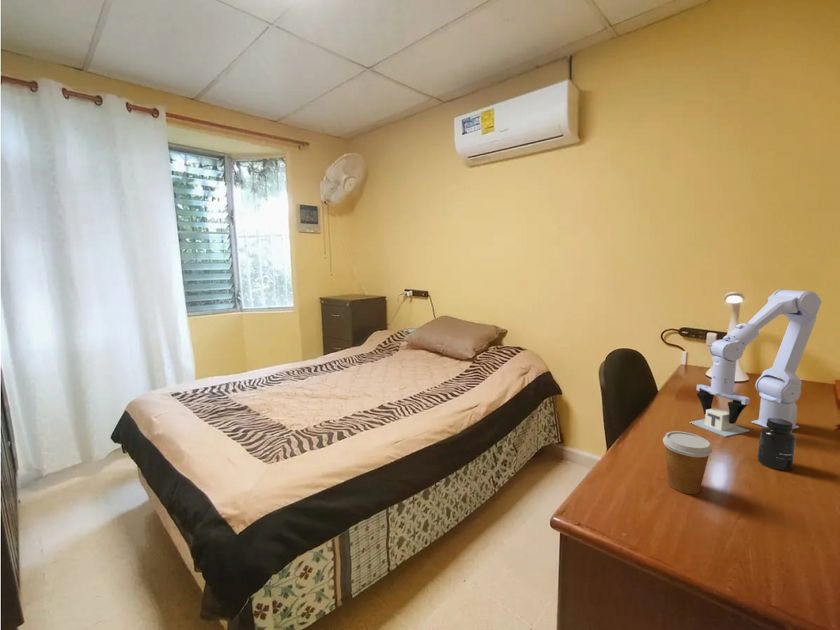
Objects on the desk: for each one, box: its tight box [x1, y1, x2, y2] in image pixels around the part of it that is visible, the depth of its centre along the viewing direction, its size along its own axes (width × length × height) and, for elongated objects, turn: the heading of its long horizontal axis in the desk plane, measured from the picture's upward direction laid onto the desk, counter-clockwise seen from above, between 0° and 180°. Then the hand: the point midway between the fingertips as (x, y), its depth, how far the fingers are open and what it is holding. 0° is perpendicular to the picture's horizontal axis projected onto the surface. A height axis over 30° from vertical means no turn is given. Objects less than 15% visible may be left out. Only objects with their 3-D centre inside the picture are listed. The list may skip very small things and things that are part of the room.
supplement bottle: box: [756, 418, 797, 471], centre depth 98 cm, size 7×7×12 cm
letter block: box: [704, 407, 732, 431], centre depth 121 cm, size 5×5×5 cm
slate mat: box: [688, 418, 750, 438], centre depth 121 cm, size 11×11×1 cm
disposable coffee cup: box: [662, 430, 713, 495], centre depth 89 cm, size 10×10×12 cm
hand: (719, 418), depth 121 cm, fingers open, 7 cm apart
